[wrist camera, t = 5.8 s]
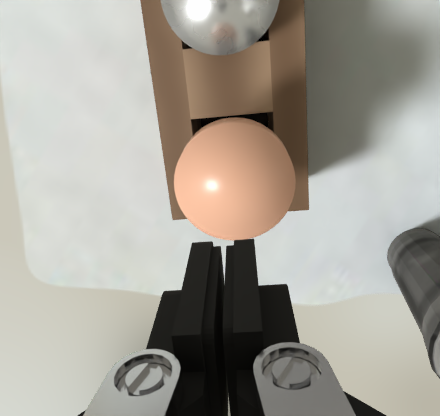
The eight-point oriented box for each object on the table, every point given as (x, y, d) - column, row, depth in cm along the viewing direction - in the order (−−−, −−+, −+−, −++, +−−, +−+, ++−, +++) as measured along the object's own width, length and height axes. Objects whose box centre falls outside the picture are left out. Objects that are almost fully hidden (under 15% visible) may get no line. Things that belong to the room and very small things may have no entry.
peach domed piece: (278, 99, 27) (293, 118, 20) (282, 189, 29) (297, 236, 22) (184, 108, 27) (165, 130, 20) (195, 196, 29) (182, 244, 22)
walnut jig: (288, -70, 27) (301, -101, 22) (296, 182, 33) (308, 209, 28) (150, -54, 28) (129, -79, 22) (183, 191, 34) (172, 219, 28)
